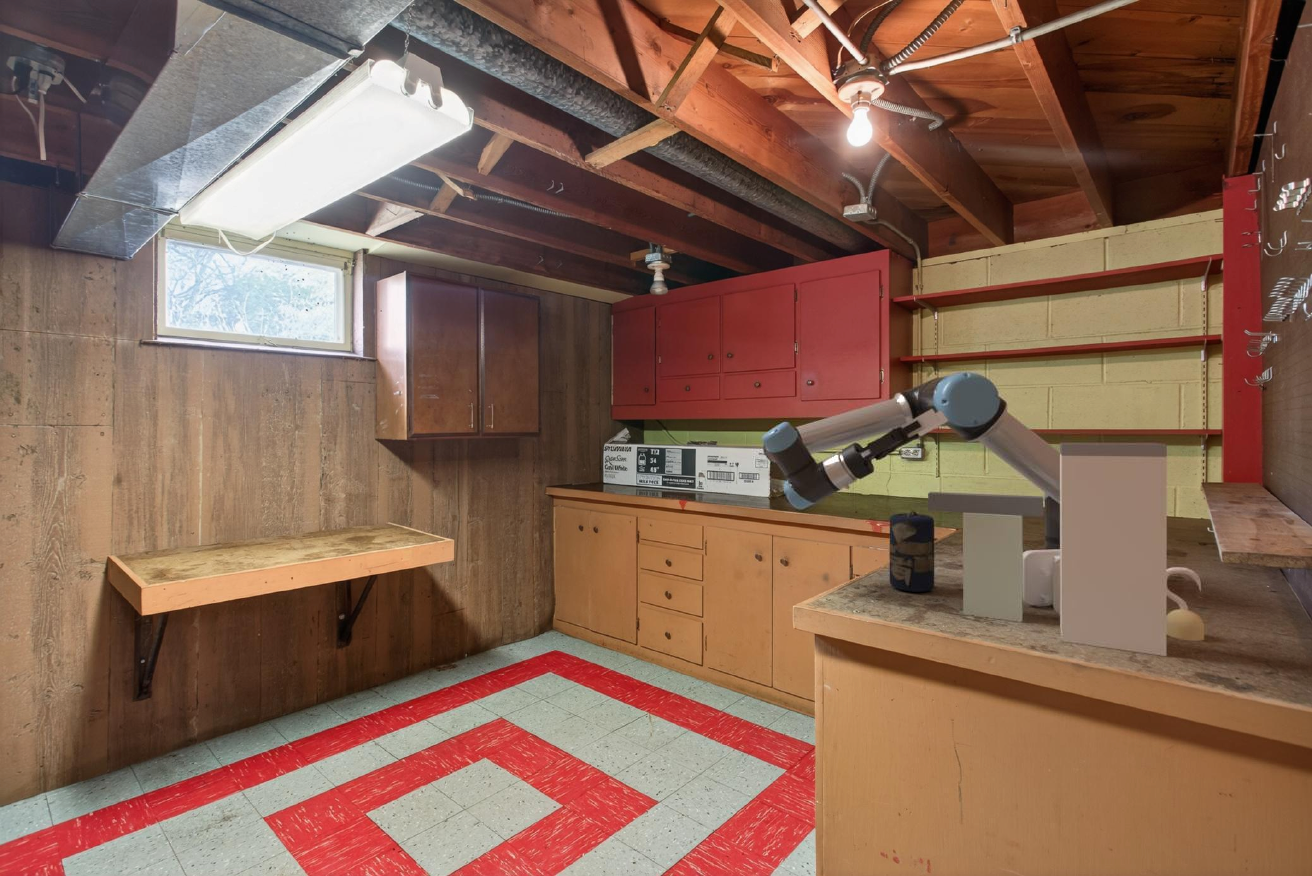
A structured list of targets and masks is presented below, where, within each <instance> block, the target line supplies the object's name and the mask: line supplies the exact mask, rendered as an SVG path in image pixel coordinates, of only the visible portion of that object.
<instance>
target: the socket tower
mask: <svg viewBox="0 0 1312 876" xmlns="http://www.w3.org/2000/svg"><path fill="white" fill-rule="evenodd" d="M1167 448H1168V447H1167V444H1165V443H1159V442H1059V452H1060V614H1059V617H1060V618H1059V625H1060V626H1059V631H1060V636H1061V642H1065V643H1071V644H1072V643H1073V644H1077V645H1085V646H1093V647H1100V648H1106V649H1113V650H1120V651H1129V652H1134V653H1139V654H1140V653H1141V654H1149V655H1155V656H1161V657H1162V656H1163V657H1167V634H1166V616H1167V596H1166V581H1167V582H1168V579H1167V569H1168V568H1167V563H1168V562H1167V559H1168V558H1167V552H1168V551H1167V550H1168V549H1167V547H1168V546H1167V545H1168V544H1167V541H1168V540H1167V539H1168V538H1167V536H1168V535H1167V527H1168V525H1167V522H1168V521H1167V511H1168V510H1167V509H1168V507H1167V503H1168V502H1167V501H1168V500H1167V498H1168V497H1167V496H1168V495H1167V494H1168V492H1167V489H1168V488H1167V487H1168V486H1167V484H1168V483H1167V479H1168V478H1167V477H1168V475H1167V473H1168V469H1167V468H1168V467H1167V464H1168V463H1167V462H1168V461H1167V459H1168V457H1167V454H1168V452H1167V450H1168V449H1167Z"/></svg>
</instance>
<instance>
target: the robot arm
mask: <svg viewBox="0 0 1312 876" xmlns="http://www.w3.org/2000/svg"><path fill="white" fill-rule="evenodd" d="M939 427H947V428H949V429H950V430H952V431H953V432H954V433H956V434H957V435H958V436H960V437H961V438H963V439H964V440H965V441H967V442H968V443H971V442H979V443H980V444H981V445H983V446H984V447H985V448H986V449H988V450H989V451H991V452H992V453H993V454H994V455H996V456H997V457H998V458H1000V459H1001V460H1002V461H1003V462H1005V463H1006V464H1007V465H1008V466H1010V467H1011V468H1012V469H1014V470H1015V471H1016V472H1018V473H1019V474H1020V475H1022V476H1023V477H1024V478H1025V479H1027V480H1028V481H1029V482H1031V483H1032V484H1034V485H1035V486H1036V487H1037V488H1038V489H1040V490H1041V491H1042V492H1044V497H1043V502H1044V546H1043V549H1042V550H1055V549H1060V450H1057V449H1056V448H1055V447H1053V446H1052V445H1051V444H1050V443H1048V442H1047V441H1046V440H1044V439H1043V438H1042V437H1040V436H1039V435H1038V434H1036V433H1035V432H1034V431H1033V430H1031V428H1029V427H1027V426H1026V425H1025V424H1024V423H1022V422H1021V421H1020V420H1018V419H1017V418H1015V417H1014V416H1013V415H1012V414H1011V413H1009V411H1008V403H1007V401H1005V399H1003V398H1002V397H1001V396H999V391H998V389H997V387H996V385H995V384H994V383H993V381H991V380H990V379H989V378H988V377H986V376H984V375H981V374H978V373H975V372H967V371H966V372H965V371H963V372H956V373H952V374H949V375H945V376H940V377H935V378H933V379H930V380H928V381H926V382H923V383H921V384H919V385H917V386H915V387H912V388H909V389H907V390H904V391H900V392H897V393H895V395H894V397H893V398H891V399H888V400H887V399H886V400H885V401H881V402H877V403H874V404H871V405H866V406H864V407H860V408H857V409H853V410H850V411H846V412H842V413H840V414H836V415H833V416H830V417H826V418H823V419H820V420H816V421H813V422H809V423H806V424H803V425H798V426H796V427H793V426H792V425H791V424H790V422H788V421H783V422H781V423H780V424H777V425H776V426H774V427H772V428H771V429H770V430H769V431H767V432H765V434H763V436H762V437H761V441H762V443H763V445H762V452H763V454H764V455H765V457H766V459H767V460H769V461H771V462H772V463H774V464H777V466H778V467H779V469H780V471H782V473H783V474H784V476H785V477H786V479H787V480H786V481H785V482H784V483H783V485H782V489H783V493H784V494H785V496H786V499H787V501H788V502H789V503H790V504H791V505H792V507H794V508H795V509H798V510H804V509H806V508H808V507H810V506H813V505H816V504H818V503H819V502H821V501H823V500H825V499H826V498H828V497H829V496H831V495H834V494H835V493H837V492H839V491H841V490H842V489H844V488H845V490H849V489H850V485H852V484H853V483H855V482H857V479H858V480H862V479H864V478H866V477H867V476H870V475H871V474H873V473H874V471H875V467H874V464H873V462H872V461H873V460H874V459H875V460H876V461H880V460H882V459H885V458H886V457H887V456H888V455H889V454H892V453H894V452H895V451H896V450H897V449H900V448H902V447H904V446H905V445H907V444H909V443H911V442H913V441H917V440H918V439H919V438H920V437H922V436H924V435H925V434H927V433H930V432H931V431H933V430H934V429H937V428H939ZM883 434H884V435H883ZM881 435H883V436H881ZM876 436H881V437H879V438H877V439H875V440H872V441H871V442H868V443H867V444H866V446H865V447H863V446H862V445H860V443H857V442H859V441H862V440H866V439H869V438H873V437H876ZM848 444H849V445H848ZM844 445H848V446H847V447H845V448H842V450H841V451H837V452H835V453H833V454H832V455H830V456H828V457H826V458H825V459H823V460H822V461H820V462H816V459H815V458H814V456H812V455H813V454H816V453H820V452H824V451H827V450H831V449H835V448H838V447H841V446H844Z"/></svg>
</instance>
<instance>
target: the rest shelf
mask: <svg viewBox="0 0 1312 876" xmlns="http://www.w3.org/2000/svg"><path fill="white" fill-rule="evenodd" d="M1023 520H1024V516H1018V515H1000V514H983V513H965V512H962V578H963V579H962V584H963V585H962V587H963V588H962V591H963V592H962V593H963V594H962V595H963V599H962V606H963V607H962V608H963V609H962V612H963V613H962V614H963V616H965V615H967V616H971V615H974V617H979V618H986V617H988V618H989V619H994V620H1001V619H1002V620H1003V621H1008V622H1009V621H1010V622H1016V621H1017V622H1019V623H1023V614H1024V601H1023V552H1024V551H1023V550H1024V549H1023V545H1024V544H1023V541H1024V540H1023V538H1024V537H1023V536H1024V534H1023V532H1024V529H1023V528H1024V527H1023V525H1024V522H1023Z"/></svg>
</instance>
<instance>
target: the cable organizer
mask: <svg viewBox="0 0 1312 876" xmlns="http://www.w3.org/2000/svg"><path fill="white" fill-rule="evenodd" d="M1023 603H1028V604H1029V605H1032V606H1034V607H1049V606H1051V605H1052V606H1053V610H1054V611H1055V613H1057V614H1059V615H1060V549H1055V550H1043V549H1034V550H1033V549H1032V550H1031V549H1029V550H1026V551H1023Z"/></svg>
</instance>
